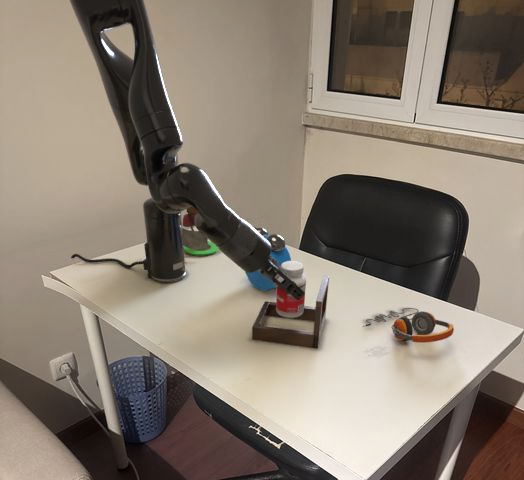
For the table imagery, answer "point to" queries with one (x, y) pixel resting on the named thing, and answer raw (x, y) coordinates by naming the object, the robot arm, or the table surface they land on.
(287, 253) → the alarm clock
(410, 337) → the headphones
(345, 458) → the table surface
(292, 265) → the pill bottle
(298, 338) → the wooden frame
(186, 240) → the multicoloured stacked figure
